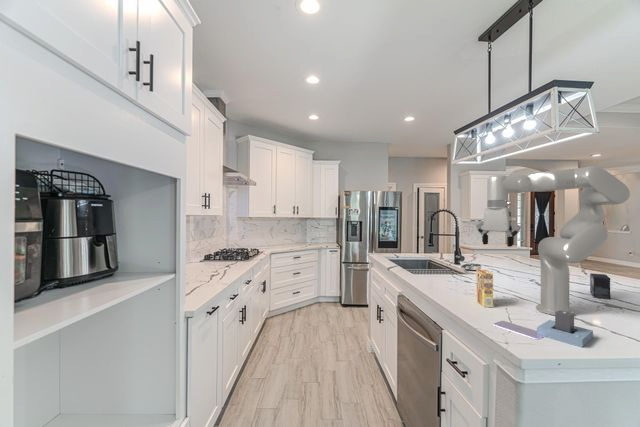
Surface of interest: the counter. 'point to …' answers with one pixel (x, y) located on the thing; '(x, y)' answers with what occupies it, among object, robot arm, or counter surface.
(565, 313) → the block
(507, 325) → the mobile phone
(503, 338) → the counter surface
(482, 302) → the candy box
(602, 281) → the small box
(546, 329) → the blue square socket base
